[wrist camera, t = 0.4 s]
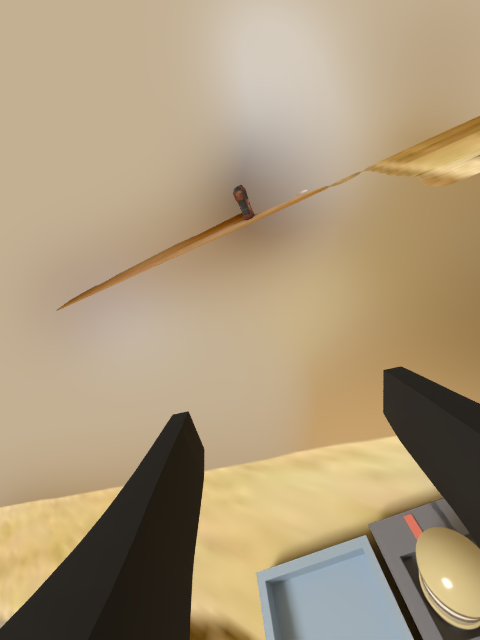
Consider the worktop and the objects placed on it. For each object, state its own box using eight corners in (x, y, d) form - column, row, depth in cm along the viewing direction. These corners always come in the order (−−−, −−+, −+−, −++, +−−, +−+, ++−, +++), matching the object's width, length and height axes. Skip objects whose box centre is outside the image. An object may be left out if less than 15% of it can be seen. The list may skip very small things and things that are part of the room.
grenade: (250, 220, 118) (237, 187, 111) (241, 221, 125) (228, 190, 117) (259, 214, 120) (247, 182, 112) (250, 215, 126) (238, 184, 118)
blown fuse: (501, 621, 14) (521, 603, 11) (446, 637, 15) (450, 625, 11) (453, 550, 17) (457, 518, 14) (407, 565, 17) (401, 537, 14)
